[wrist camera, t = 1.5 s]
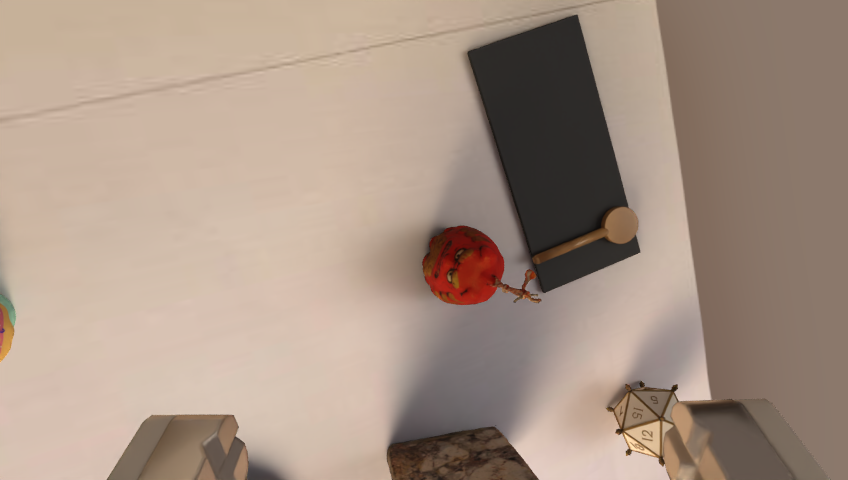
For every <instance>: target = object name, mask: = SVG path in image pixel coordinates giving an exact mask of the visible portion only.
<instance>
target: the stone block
mask: <svg viewBox="0 0 848 480" xmlns="http://www.w3.org/2000/svg"><path fill="white" fill-rule="evenodd" d="M387 462H388V465H389V468H390V473H391V476H392V480H539V479H538V478H537V477H536V475H535V474H534V473H533V472H532V470H531V469H530V468H529V466H528V465H527V464H526V462H525V461H524V459H523V458H522V457H521V456H520V455H519V454H518V452H517V451H516V450H515V449H514V447H513V446H512V445H511V444H510V443H509V442H508V440H507V439H506V438H505V437H504V435H503V434H502V433H501V432H500V431H499V430H498V429H496V428H495V427H487V428H479V429H475V430H468V431H461V432H455V433H450V434H446V435H441V436H436V437H430V438H425V439H419V440H414V441H408V442H404V443H396V444H392V445H391V446H390V447H389V449H388V452H387Z"/></svg>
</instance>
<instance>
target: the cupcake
mask: <svg viewBox="0 0 848 480" xmlns="http://www.w3.org/2000/svg"><path fill="white" fill-rule="evenodd" d="M15 320H16V315H15V310H14V308H13V306H12V304H11V303H10V301H9V300H8V299H7V298H5V297H4V296H3V295H1V294H0V362H1V361H2V360H3V359H4V357H5V356H6V355H7V353H8V352H9V350H10V348H11V344H12V339H13V336H14V324H15Z"/></svg>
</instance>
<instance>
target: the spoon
mask: <svg viewBox="0 0 848 480" xmlns="http://www.w3.org/2000/svg"><path fill="white" fill-rule="evenodd" d="M637 230H638V218H637V216H636V214H635V213H634V211H633V210H631V209H630V208H627V207H621V206H617V207H613V208H611V209H610V210H608V211H607V212H606V213H605V215H604V216H603V219H602V222H601V228H600V229H598V230H595V231H593V232H590V233H588V234H585V235H583V236H581V237H578V238H576V239H573V240H571V241H568V242H566V243H563V244H561V245H559V246H556V247H554V248H551V249H549V250H546V251H544V252H542V253H539V254H537V255H535V256H534V257H533V262H534V263H535V264H540V263H542V262H545V261H547V260H550V259H552V258H554V257H557V256H559V255H562V254H564V253H567V252H569V251H571V250H574V249H576V248H579V247H581V246H584V245H586V244H588V243H591V242H593V241H596V240H598V239H600V238H603V237H605V238H606V239H607V240H608V241H610V242H612V243H616V244H624V243H627V242H629V241H630V240H631V239H632V238H633V237H634V236H635V234H636V232H637Z"/></svg>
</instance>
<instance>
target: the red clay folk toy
mask: <svg viewBox="0 0 848 480" xmlns="http://www.w3.org/2000/svg"><path fill="white" fill-rule="evenodd" d="M429 247H430V252H429V253H428V254H427V255H426V256H425V257H424V259H423V261H422V266H423V272H424V274H425V280H426V282H427V283H428V285H430V288H431V291H432V292H433V294H434V295H435V296H437V297H438V298H439V299H440V300H442V301H444V302H446V303H451V304H456V305H470V304H477V303H481V302H484V301H487V300H488V299H489V298H490V297H491V296H492V295H493V294H494V293H495V291H496V290H497V287H501V288H502V292H504V293H508V292H509V291H510V292H511V293H513V294H515V295H516V296H518V298H516V299H515V300H514V302H515V303H516V301H517V300H519V299H526V298H527V299H529V300H530V301H532V302H535V303H539V302H540V301H541V299H534V298H531V296H538V294H530V292H529V291H526V290H525V287H526V285H527V284H528V282H529V281H530V280H531V279H535V278H536V276H537V275H536V274H535V272H533V271H532V270H530V269H529V270H527V271H526V273H525V277H526V278H525V281H524V284H523V285H522V289H515V288H512V287H509V285H507V284H503V283H502V282H501V278H502V275H503V272H504V259H503V256H502V255H501V253H500V251H499V249H498V247H497V246H496V244H495V243H494V242H493V241H492V240H491V239H490V238H489V237H488V236H487V235H485V234H484V233H482V232H481V231H479V230H477V229H474V228H471V227H468V226H457V227H450V228H446V229H445V230H444V231H443V233H441V234H439V235H438V236H435V237H433V238H431V240H430V243H429Z"/></svg>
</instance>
